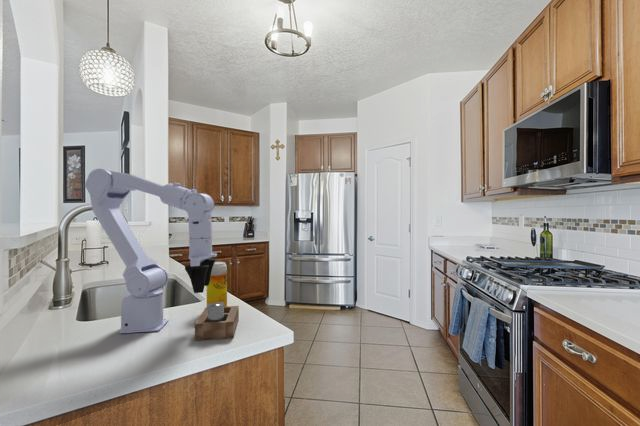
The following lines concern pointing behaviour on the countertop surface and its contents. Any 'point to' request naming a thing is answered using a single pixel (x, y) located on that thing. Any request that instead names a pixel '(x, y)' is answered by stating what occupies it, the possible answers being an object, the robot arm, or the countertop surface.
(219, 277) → the beer glass
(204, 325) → the socket block
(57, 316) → the countertop surface
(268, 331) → the countertop surface
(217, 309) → the peg
